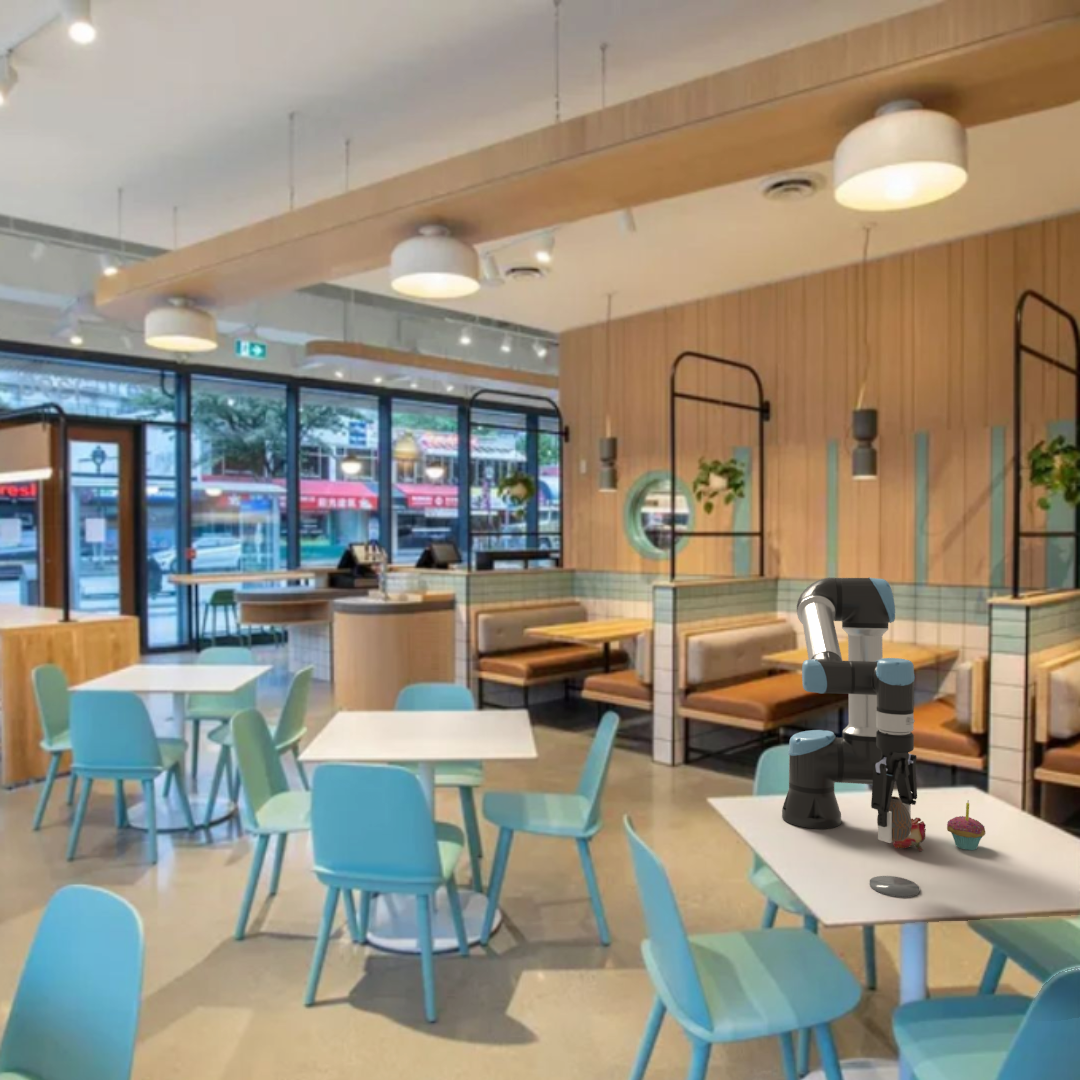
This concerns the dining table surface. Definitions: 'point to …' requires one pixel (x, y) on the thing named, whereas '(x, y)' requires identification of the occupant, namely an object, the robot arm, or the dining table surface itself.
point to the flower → (913, 835)
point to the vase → (899, 820)
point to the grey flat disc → (894, 886)
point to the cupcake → (966, 831)
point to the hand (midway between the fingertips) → (894, 836)
